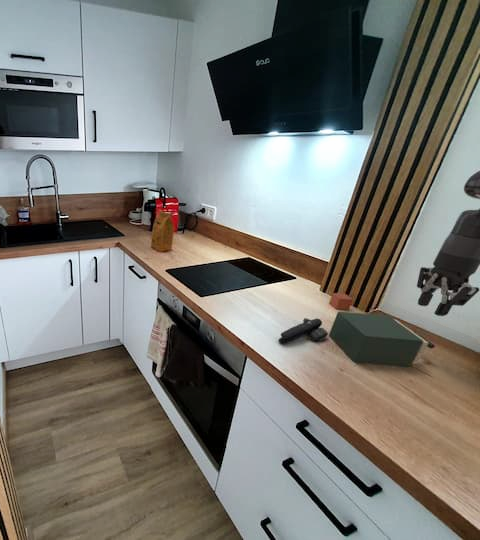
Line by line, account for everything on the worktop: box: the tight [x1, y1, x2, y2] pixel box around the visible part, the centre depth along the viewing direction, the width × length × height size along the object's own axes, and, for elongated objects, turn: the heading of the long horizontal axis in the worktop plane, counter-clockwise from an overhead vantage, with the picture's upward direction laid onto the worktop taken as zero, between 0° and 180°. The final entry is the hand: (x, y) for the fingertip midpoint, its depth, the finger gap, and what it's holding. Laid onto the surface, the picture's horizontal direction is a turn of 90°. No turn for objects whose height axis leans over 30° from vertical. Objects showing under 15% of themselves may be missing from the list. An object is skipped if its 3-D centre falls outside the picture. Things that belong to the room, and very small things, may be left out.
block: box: [328, 292, 354, 311], centre depth 109 cm, size 5×5×5 cm
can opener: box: [277, 317, 329, 345], centre depth 89 cm, size 18×7×6 cm, turn 110°
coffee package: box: [150, 209, 175, 253], centre depth 162 cm, size 10×12×22 cm
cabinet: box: [328, 311, 423, 368], centre depth 84 cm, size 15×13×9 cm
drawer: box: [393, 318, 436, 365], centre depth 84 cm, size 18×11×7 cm, turn 84°
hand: (430, 309), depth 79 cm, fingers open, 4 cm apart
